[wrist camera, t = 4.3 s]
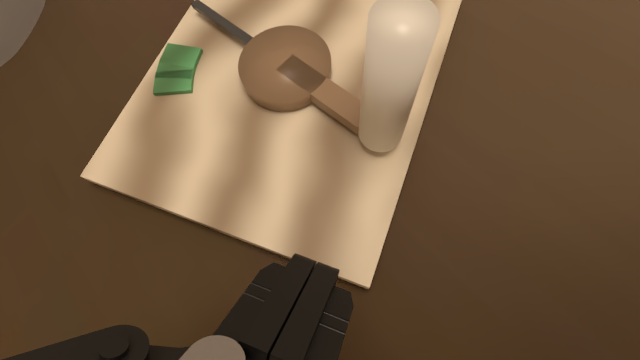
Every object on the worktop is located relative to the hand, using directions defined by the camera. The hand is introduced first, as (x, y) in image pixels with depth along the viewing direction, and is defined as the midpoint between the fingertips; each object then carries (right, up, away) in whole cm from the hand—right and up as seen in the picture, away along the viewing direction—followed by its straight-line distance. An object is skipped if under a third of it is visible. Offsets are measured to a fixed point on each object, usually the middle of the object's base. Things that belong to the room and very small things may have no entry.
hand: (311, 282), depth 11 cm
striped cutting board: (-2, +11, +18) cm, 21 cm away
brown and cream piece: (-2, +11, +16) cm, 20 cm away
